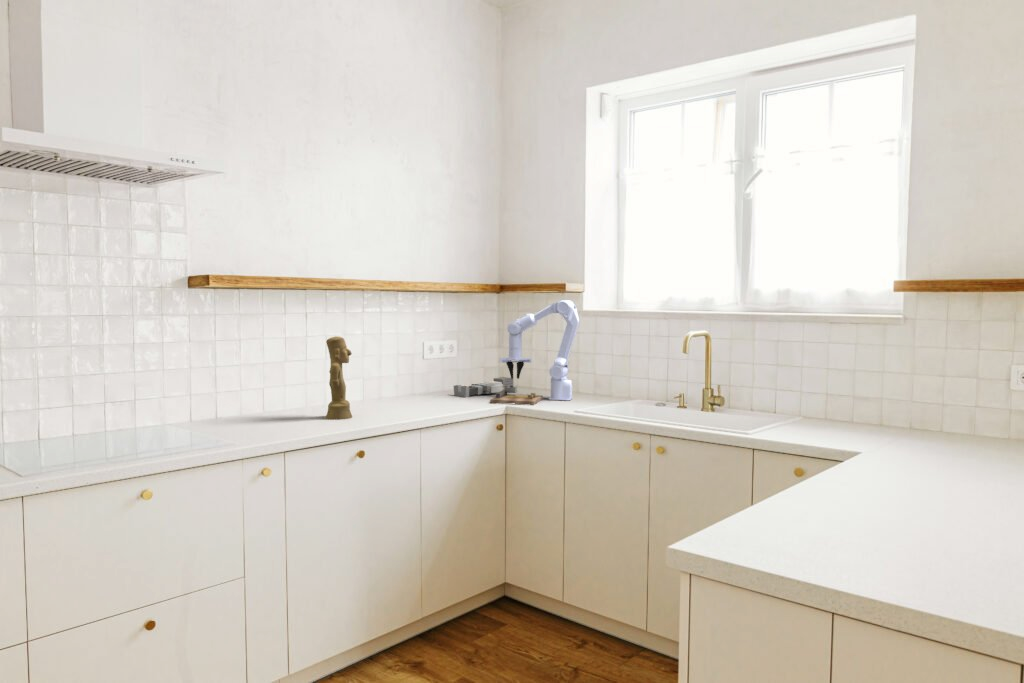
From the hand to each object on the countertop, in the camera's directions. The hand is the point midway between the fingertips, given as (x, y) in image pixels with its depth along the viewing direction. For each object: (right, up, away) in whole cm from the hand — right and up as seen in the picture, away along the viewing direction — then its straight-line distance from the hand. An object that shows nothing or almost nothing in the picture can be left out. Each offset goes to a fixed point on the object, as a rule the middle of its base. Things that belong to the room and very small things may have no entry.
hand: (515, 378), depth 335 cm
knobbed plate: (-2, -6, -5) cm, 8 cm away
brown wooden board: (+1, -9, -13) cm, 16 cm away
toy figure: (-14, -8, +11) cm, 20 cm away
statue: (-65, -12, -61) cm, 90 cm away
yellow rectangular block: (+2, -8, -13) cm, 15 cm away
